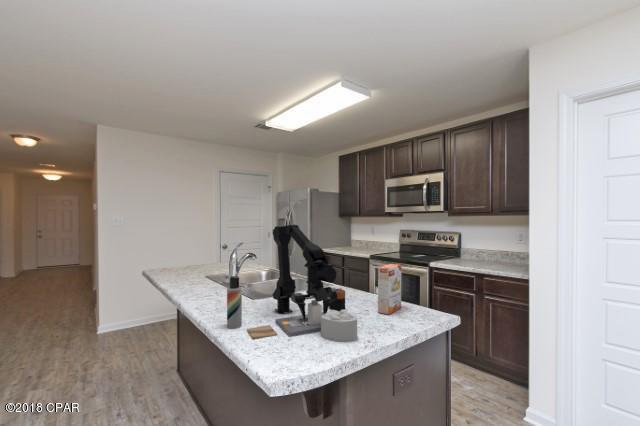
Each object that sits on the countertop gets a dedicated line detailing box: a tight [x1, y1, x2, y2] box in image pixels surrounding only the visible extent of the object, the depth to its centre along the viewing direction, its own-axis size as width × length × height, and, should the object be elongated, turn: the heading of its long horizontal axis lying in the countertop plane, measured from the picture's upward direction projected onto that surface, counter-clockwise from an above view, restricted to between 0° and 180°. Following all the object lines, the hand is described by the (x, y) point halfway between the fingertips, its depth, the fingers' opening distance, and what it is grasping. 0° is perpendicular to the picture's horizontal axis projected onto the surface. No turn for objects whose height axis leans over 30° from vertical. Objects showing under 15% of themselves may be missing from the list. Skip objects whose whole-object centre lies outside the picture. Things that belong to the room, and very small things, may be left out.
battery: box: [328, 287, 346, 312], centre depth 146 cm, size 4×7×10 cm, turn 53°
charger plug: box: [307, 299, 323, 325], centre depth 126 cm, size 5×4×10 cm
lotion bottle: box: [226, 275, 243, 329], centre depth 124 cm, size 6×6×20 cm
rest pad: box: [246, 324, 278, 340], centre depth 116 cm, size 10×9×1 cm
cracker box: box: [377, 263, 402, 316], centre depth 143 cm, size 14×6×21 cm, turn 143°
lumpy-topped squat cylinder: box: [320, 309, 358, 343], centre depth 113 cm, size 10×13×9 cm
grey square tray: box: [274, 311, 324, 338], centre depth 124 cm, size 17×22×2 cm
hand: (314, 317), depth 126 cm, fingers open, 9 cm apart
